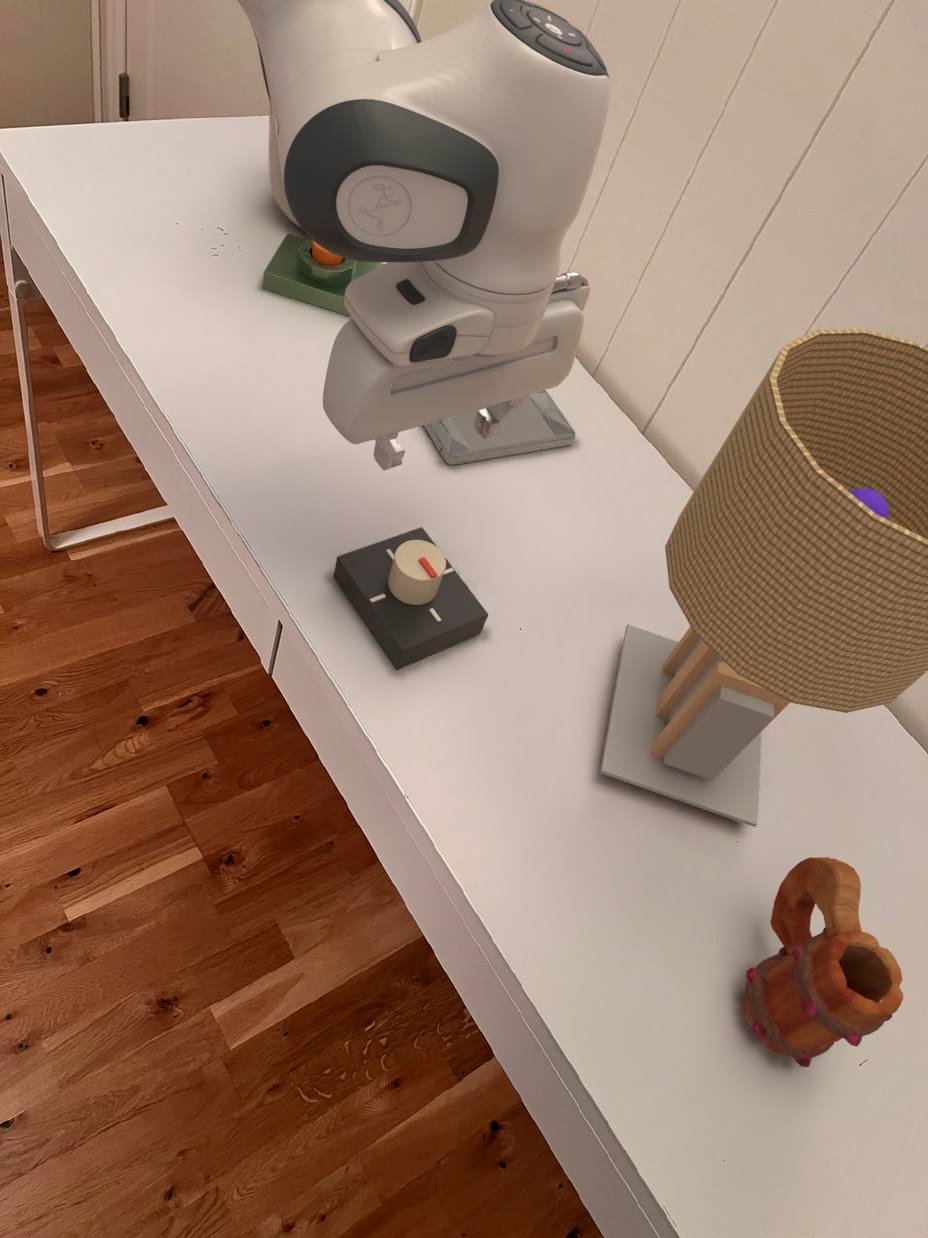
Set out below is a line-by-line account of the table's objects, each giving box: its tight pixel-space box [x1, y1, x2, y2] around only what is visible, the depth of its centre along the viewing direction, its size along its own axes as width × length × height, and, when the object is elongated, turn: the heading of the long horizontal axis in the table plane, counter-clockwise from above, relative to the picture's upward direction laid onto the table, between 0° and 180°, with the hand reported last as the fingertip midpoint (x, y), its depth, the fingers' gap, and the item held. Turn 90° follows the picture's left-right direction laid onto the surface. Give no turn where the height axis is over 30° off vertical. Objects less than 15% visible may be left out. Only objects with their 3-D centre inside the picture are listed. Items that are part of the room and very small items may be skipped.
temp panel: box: [332, 526, 489, 671], centre depth 80 cm, size 11×9×3 cm
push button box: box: [262, 232, 385, 318], centre depth 105 cm, size 12×9×4 cm
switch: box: [312, 241, 343, 265], centre depth 103 cm, size 4×4×2 cm
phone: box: [423, 390, 576, 466], centre depth 97 cm, size 8×16×1 cm, turn 116°
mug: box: [742, 856, 904, 1068], centre depth 63 cm, size 12×7×13 cm, turn 179°
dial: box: [388, 540, 447, 605], centre depth 77 cm, size 4×4×4 cm
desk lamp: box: [599, 328, 928, 828], centre depth 66 cm, size 20×20×35 cm
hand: (438, 446), depth 70 cm, fingers open, 8 cm apart
